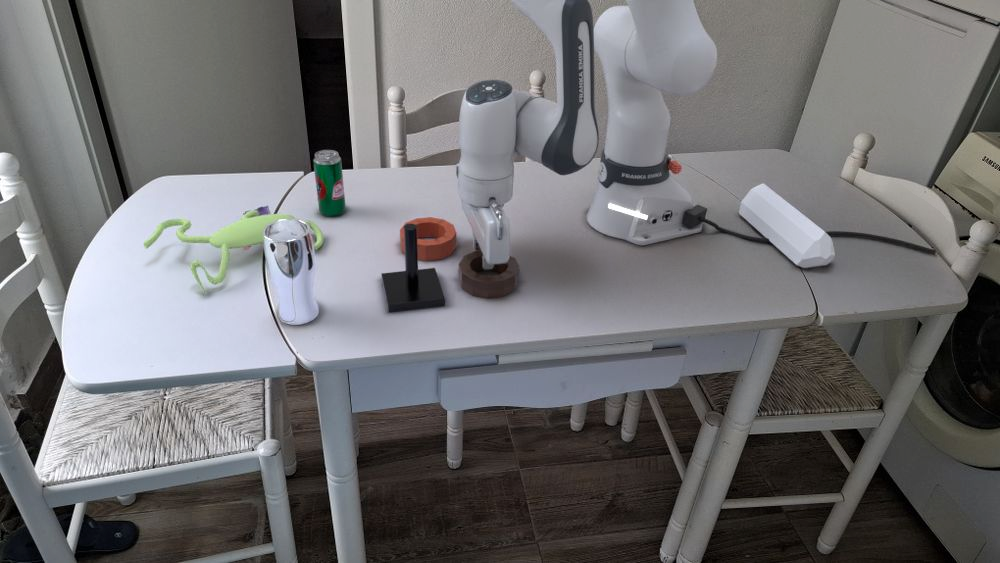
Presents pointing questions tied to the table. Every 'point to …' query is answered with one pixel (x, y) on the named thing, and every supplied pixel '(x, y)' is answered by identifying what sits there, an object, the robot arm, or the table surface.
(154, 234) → the pale green curved piece
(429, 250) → the terracotta ring
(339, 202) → the soda can
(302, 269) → the chrome cup
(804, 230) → the crystal
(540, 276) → the table surface
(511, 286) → the walnut ring
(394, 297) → the peg stand
